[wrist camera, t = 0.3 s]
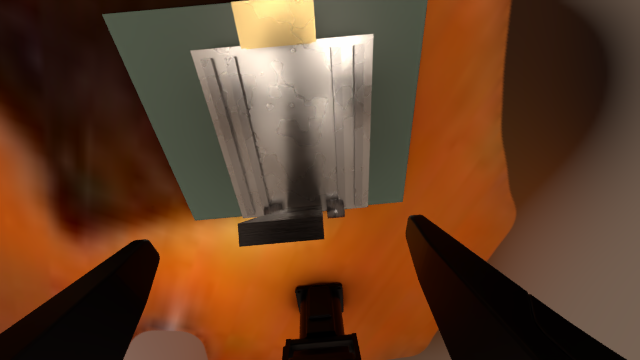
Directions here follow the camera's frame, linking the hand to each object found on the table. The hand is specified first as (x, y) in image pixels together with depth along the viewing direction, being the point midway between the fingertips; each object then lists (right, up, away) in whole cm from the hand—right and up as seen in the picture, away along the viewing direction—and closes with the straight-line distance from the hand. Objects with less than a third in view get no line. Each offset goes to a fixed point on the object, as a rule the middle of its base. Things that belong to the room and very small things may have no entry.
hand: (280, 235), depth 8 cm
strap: (0, 0, +6) cm, 6 cm away
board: (-2, +7, +13) cm, 15 cm away
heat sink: (-1, +7, +12) cm, 14 cm away
